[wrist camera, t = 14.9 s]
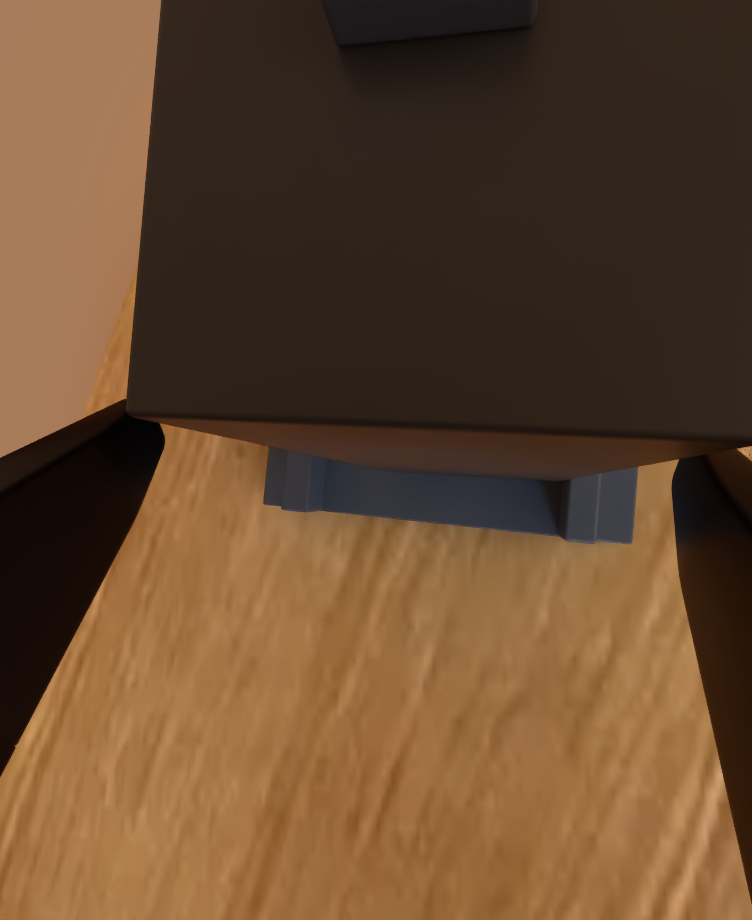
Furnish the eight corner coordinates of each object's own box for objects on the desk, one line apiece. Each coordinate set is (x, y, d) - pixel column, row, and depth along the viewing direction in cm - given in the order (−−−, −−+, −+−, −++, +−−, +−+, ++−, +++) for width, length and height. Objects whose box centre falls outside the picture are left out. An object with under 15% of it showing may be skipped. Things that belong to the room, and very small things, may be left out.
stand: (625, 542, 16) (647, 550, 14) (272, 503, 18) (241, 505, 16) (659, 108, 17) (685, 49, 14) (311, 124, 19) (287, 74, 17)
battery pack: (574, 175, 16) (864, -954, 4) (559, 482, 16) (824, 437, 3) (398, 184, 17) (142, -657, 5) (379, 471, 17) (44, 405, 4)
